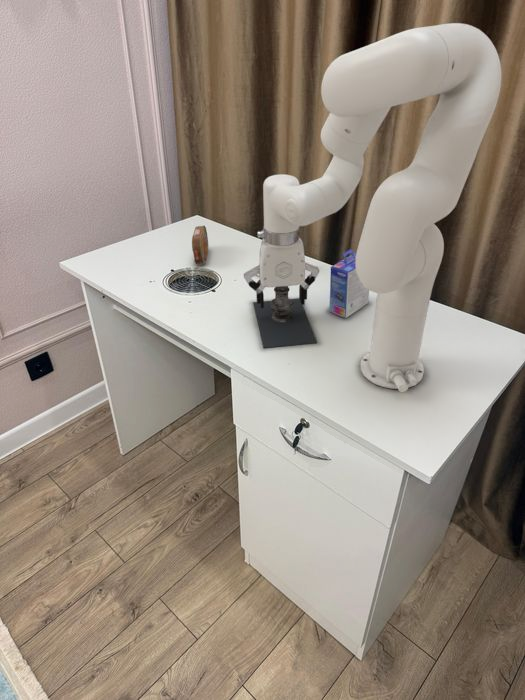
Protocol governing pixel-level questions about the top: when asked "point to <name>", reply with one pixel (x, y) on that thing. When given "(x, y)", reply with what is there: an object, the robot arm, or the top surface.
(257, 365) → the top surface
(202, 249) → the tin
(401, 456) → the top surface
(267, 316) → the mat
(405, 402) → the top surface
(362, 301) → the ink cartridge box
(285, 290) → the salt shaker
